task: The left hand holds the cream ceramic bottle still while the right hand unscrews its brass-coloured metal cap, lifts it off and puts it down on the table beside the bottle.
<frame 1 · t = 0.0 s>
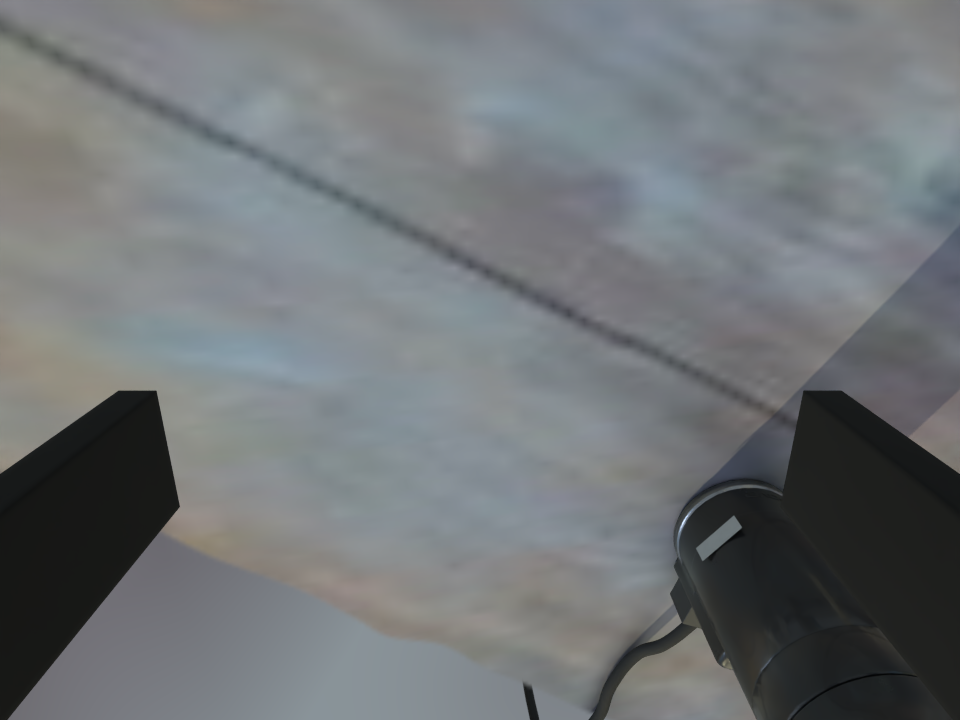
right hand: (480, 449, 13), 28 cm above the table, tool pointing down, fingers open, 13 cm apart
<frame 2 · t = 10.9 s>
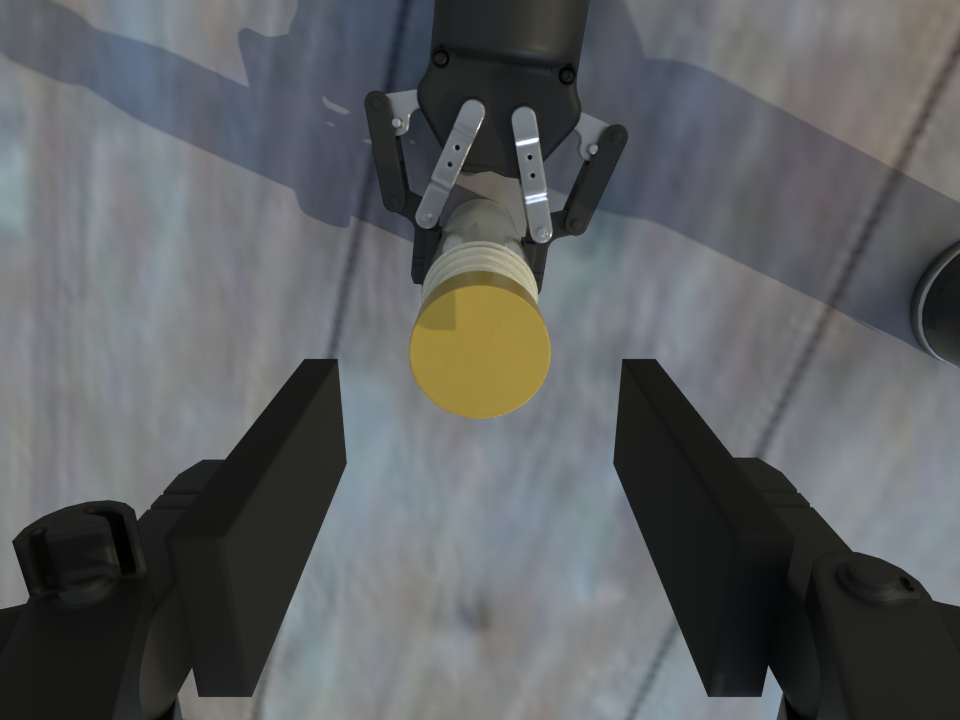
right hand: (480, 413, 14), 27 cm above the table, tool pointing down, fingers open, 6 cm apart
left hand: (474, 296, 35), fingers closed on bottle, 4 cm apart
cap: (479, 351, 18), point 23 cm above the table, screwed on, not yet turned
bottle: (480, 234, 40), on the table, touching left hand
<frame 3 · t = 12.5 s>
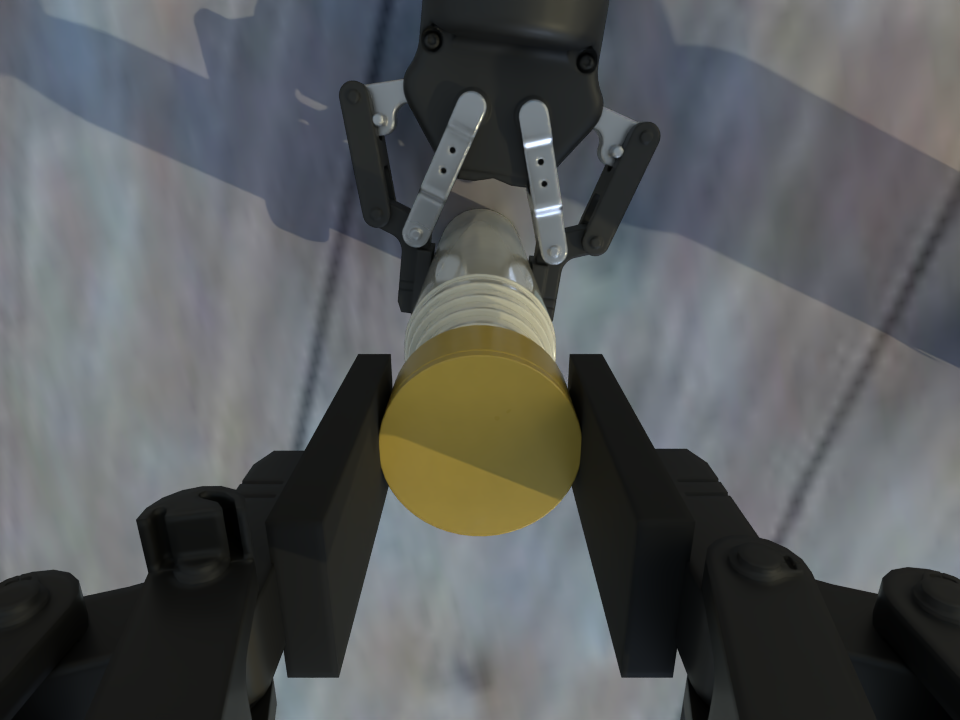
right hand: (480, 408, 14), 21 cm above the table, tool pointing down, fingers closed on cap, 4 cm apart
left hand: (473, 326, 29), fingers closed on bottle, 4 cm apart
cap: (480, 444, 13), point 23 cm above the table, screwed on, not yet turned, touching right hand
bottle: (480, 250, 34), on the table, touching left hand
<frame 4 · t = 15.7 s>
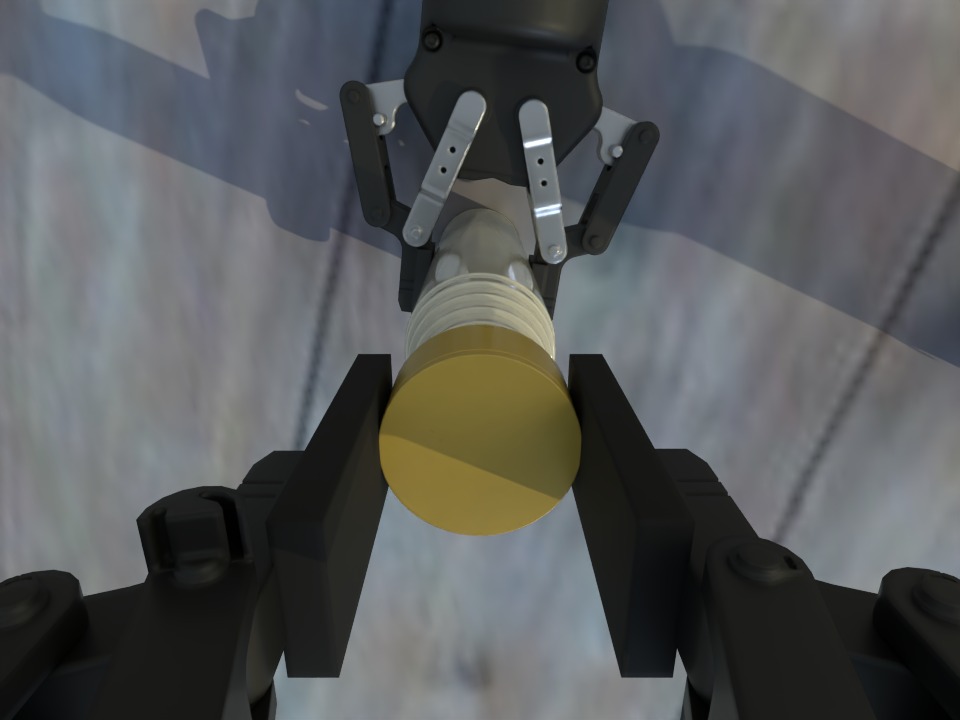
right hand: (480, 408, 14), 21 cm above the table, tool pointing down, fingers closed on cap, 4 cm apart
left hand: (474, 325, 30), fingers closed on bottle, 4 cm apart
cap: (480, 443, 13), point 23 cm above the table, turned 97° so far, risen 0.1 cm, still on its thread, touching right hand
bottle: (480, 249, 35), on the table, touching left hand
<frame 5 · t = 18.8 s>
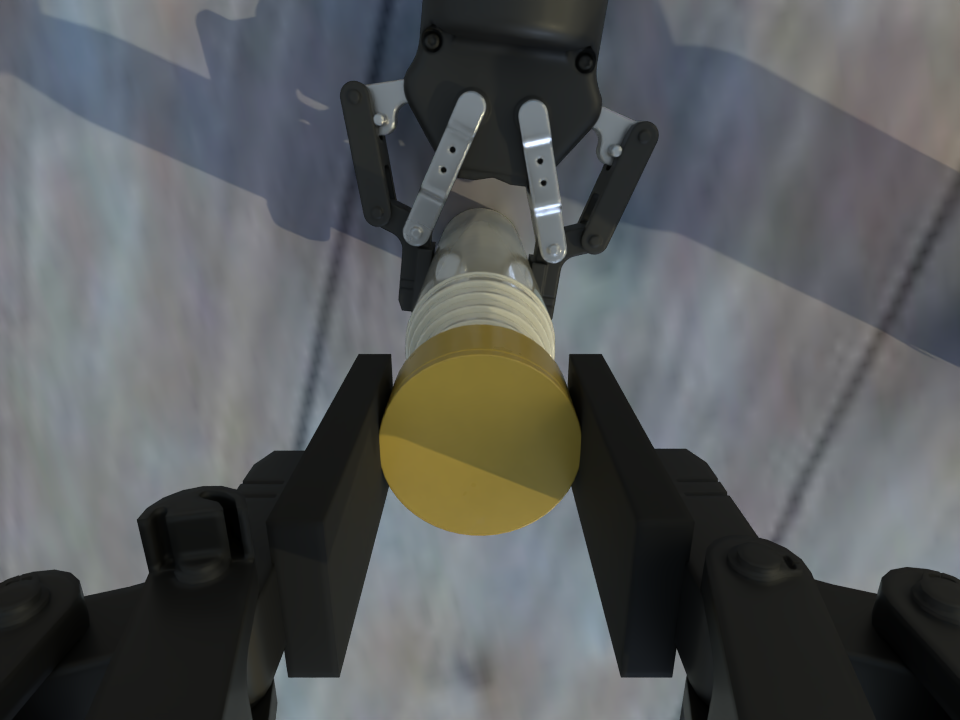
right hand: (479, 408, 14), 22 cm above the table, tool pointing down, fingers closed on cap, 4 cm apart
left hand: (474, 325, 30), fingers closed on bottle, 4 cm apart
cap: (480, 443, 13), point 23 cm above the table, turned 194° so far, risen 0.2 cm, still on its thread, touching right hand
bottle: (480, 249, 35), on the table, touching left hand
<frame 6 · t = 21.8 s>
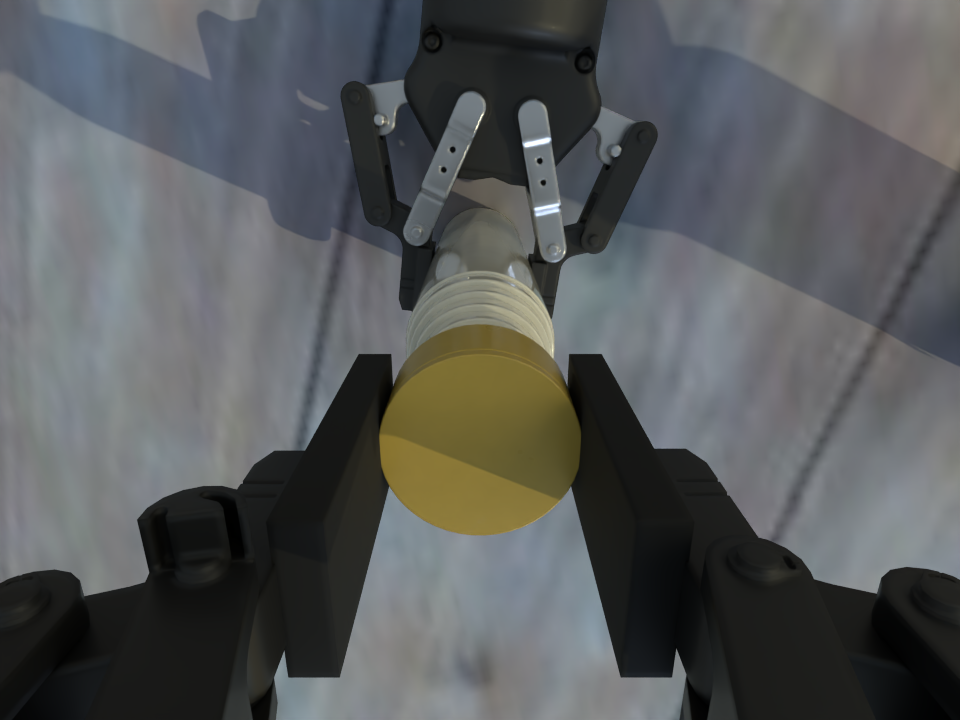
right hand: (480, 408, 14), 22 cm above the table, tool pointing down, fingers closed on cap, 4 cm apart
left hand: (474, 324, 30), fingers closed on bottle, 4 cm apart
cap: (480, 443, 13), point 23 cm above the table, turned 292° so far, risen 0.4 cm, still on its thread, touching right hand
bottle: (480, 248, 35), on the table, touching left hand
when the right hand's fingers open (1 cm above the table, at t = 29.3 s): cap drops 1 cm, point 2 cm above the table.
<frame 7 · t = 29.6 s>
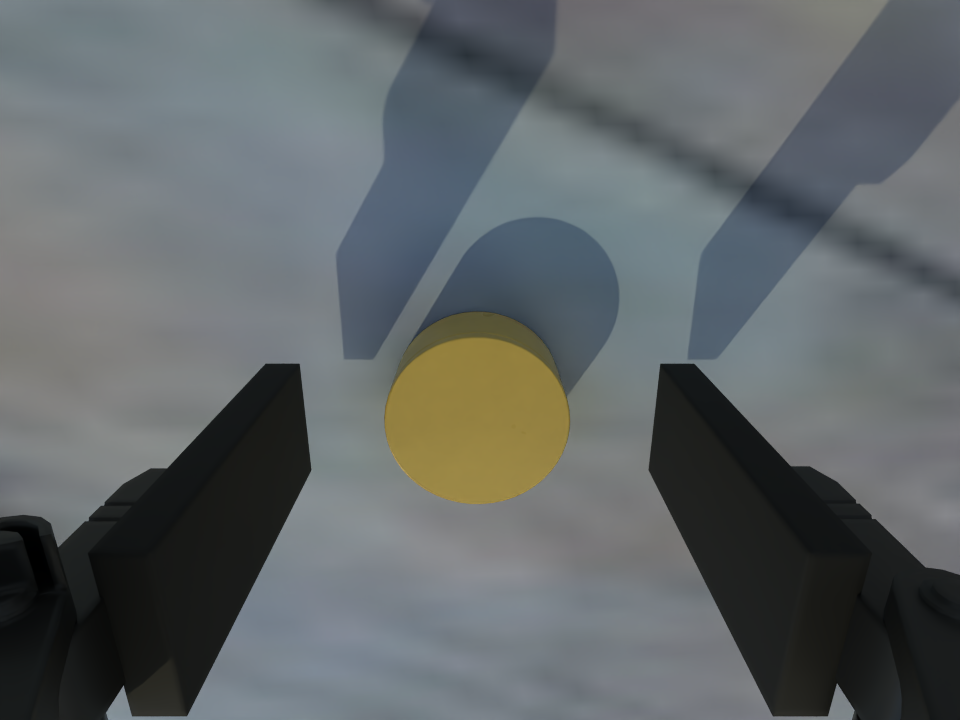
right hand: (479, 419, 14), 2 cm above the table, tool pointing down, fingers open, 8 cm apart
cap: (477, 419, 14), point 2 cm above the table, off its thread
when the left hand's fingers open (6 cm above the table, at t = 30.6 s): bottle stays where it is, on the table.
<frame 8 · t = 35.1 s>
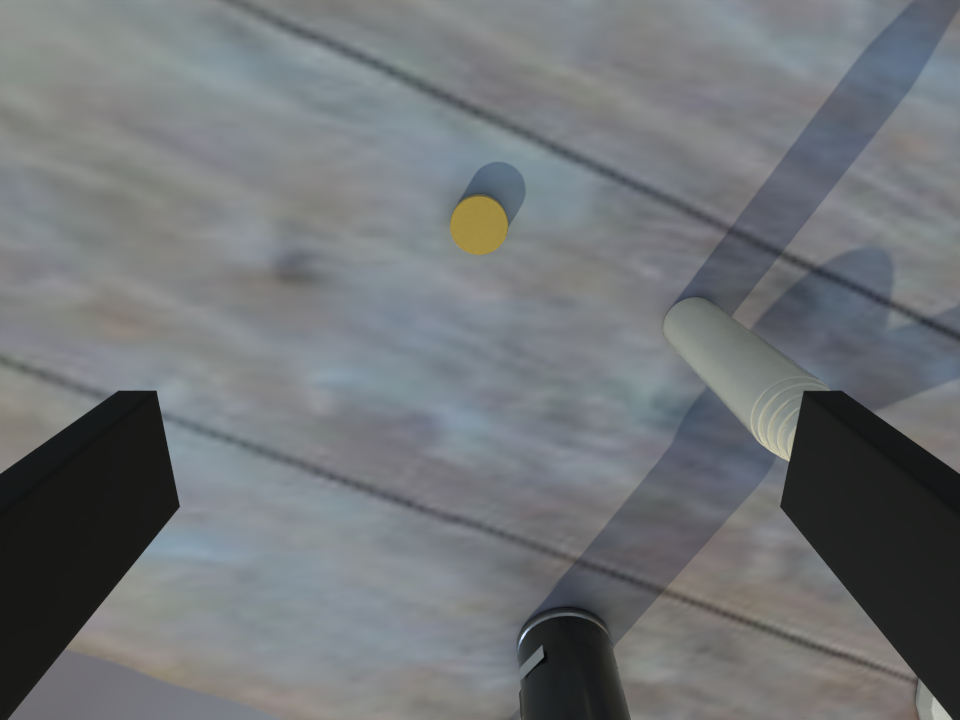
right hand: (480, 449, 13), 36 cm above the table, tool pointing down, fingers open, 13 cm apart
cap: (479, 225, 45), point 2 cm above the table, off its thread
bottle: (691, 324, 49), on the table
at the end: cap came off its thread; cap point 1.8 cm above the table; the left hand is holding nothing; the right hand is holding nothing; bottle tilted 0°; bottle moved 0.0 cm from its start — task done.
